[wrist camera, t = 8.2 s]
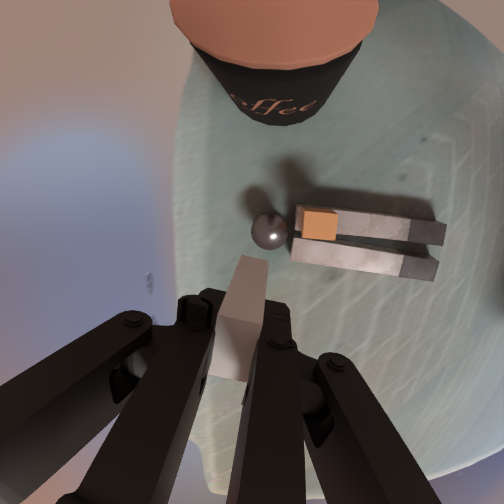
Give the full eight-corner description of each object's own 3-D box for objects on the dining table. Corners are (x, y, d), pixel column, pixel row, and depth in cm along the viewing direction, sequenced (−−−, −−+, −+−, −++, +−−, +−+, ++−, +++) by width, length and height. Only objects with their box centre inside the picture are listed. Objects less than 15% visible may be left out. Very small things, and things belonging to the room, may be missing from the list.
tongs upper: (289, 254, 31) (290, 261, 28) (293, 232, 30) (294, 237, 28) (424, 274, 30) (433, 281, 27) (429, 255, 29) (439, 261, 26)
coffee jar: (211, 101, 27) (130, 30, 10) (259, 30, 24) (236, -78, 6) (298, 146, 27) (324, 107, 10) (344, 71, 24) (404, -20, 7)
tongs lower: (253, 241, 31) (250, 248, 28) (255, 199, 29) (252, 202, 27) (429, 256, 29) (440, 264, 26) (436, 220, 28) (448, 225, 25)
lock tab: (300, 230, 27) (302, 237, 24) (302, 206, 27) (304, 211, 24) (329, 233, 27) (335, 240, 24) (332, 209, 26) (338, 214, 23)
